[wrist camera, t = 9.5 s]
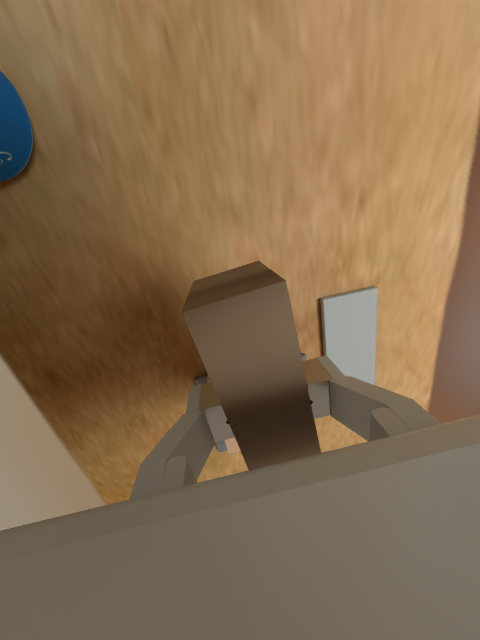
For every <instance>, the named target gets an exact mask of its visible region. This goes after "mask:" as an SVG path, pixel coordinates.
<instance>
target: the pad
mask: <svg viewBox="0 0 480 640" xmlns="http://www.w3.org/2000/svg"><path fill="white" fill-rule="evenodd" d="M377 297H378V288H377V287H374V286H373V287H368V288H364V289H359V290H355V291H350V292H346V293H341V294H337V295H332V296H328V297H323V298H320V302H321V317H322V333H323V349H324V355H326V356H328V357H329V358H330V360H331V361H332V362H333V363H334V364H335V365H336V366H337V367H338V368H339V370H340V371H341V372H342V373H343V374H344V375H345V376H351V377H354V378H356V379H359V380H362V381H364V382H367V383H370V384H373V385H374V378H375V351H376V324H377Z"/></svg>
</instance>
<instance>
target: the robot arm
mask: <svg viewBox="0 0 480 640" xmlns="http://www.w3.org/2000/svg"><path fill="white" fill-rule="evenodd" d="M302 363H303V368H304V373H305V377H306V382H307V387H308V392H309V397H310V402H311V407H312V412H313V417H314V418H319V417H323V416H328V415H331V416H332V417H333V418H335V419H336V420H338V421H339V422H341V423H342V424H344V425H345V426H346V427H348V428H349V429H351V430H352V431H354V432H355V433H357V434H358V435H360V436H361V437H363V438H364V439H366V440H367V441H369V442H365V443H361V444H356V445H352V446H348V447H344V448H340V449H336V450H332V451H328V452H323V453H319V454H315V455H311V456H307V457H303V458H299V459H295V460H290V461H286V462H282V463H278V464H274V465H270V466H266V467H262V468H257V469H253V470H249V471H245V472H241V473H237V474H233V475H229V476H224V477H220V478H216V479H212V480H208V481H204V482H200V483H198V482H197V479H198V477H199V475H200V473H201V471H202V469H203V467H204V464H205V462H206V460H207V458H208V456H209V454H210V452H211V450H212V448H213V446H214V444H215V442H219V441H223V440H226V439H230V438H234V434H233V432H232V429H231V427H230V425H229V422H228V420H227V418H226V415H225V413H224V411H223V408H222V406H221V404H220V401H219V399H218V397H217V395H216V392H215V390H214V388H213V385H212V383H211V382H209V383H204V384H200V385H195V386H191V388H190V391H189V397H188V404H187V410H186V414H184V415H182V416H181V417H180V418H179V420H178V421H177V422H176V423H175V424H174V425H173V427H172V428H171V429H170V430H169V431H168V432H167V434H166V435H165V436H164V437H163V438H162V439H161V441H160V442H159V443H158V444H157V445H156V446H155V448H154V449H153V450H152V451H151V452H150V454H149V455H148V456H147V457H146V458H145V459H144V461H143V462H142V463H141V464H140V468H139V471H138V474H137V477H136V480H135V483H134V487H133V490H132V493H131V496H130V499H129V500H125V501H121V502H117V503H113V504H109V505H105V506H101V507H97V508H93V509H88V510H84V511H80V512H76V513H72V514H68V515H64V516H60V517H55V518H51V519H47V520H43V521H39V522H35V523H31V524H27V525H22V526H18V527H14V528H10V529H6V530H2V531H0V640H480V415H476V416H472V417H468V418H464V419H460V420H456V421H451V422H447V423H443V424H440V423H439V422H438V421H437V420H436V419H434V418H433V417H432V416H431V415H430V414H429V413H428V412H427V411H425V410H424V409H423V408H422V407H421V406H420V405H418V404H417V403H416V402H415V401H414V400H413V399H410V398H408V397H405V396H402V395H399V394H397V393H394V392H391V391H389V390H386V389H383V388H381V387H378V386H375V385H373V384H370V383H367V382H364V381H362V380H359V379H356V378H354V377H351V376H345V375H344V374H343V373H342V372H341V371H340V370H339V368H338V367H337V366H336V365H335V364H334V363H333V362H332V361H331V360H330V358H329V357H328V356H326V355H324V356H320V357H317V358H314V359H310V360H306V361H302Z"/></svg>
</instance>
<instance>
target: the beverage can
mask: <svg viewBox="0 0 480 640" xmlns="http://www.w3.org/2000/svg"><path fill="white" fill-rule="evenodd" d="M32 146H33V133H32V126H31V122H30V118H29V115H28V113H27V110H26V108H25V105H24V103H23V101H22V99H21V98H20V96H19V94H18V92H17V91H16V89H15V88H14V87H13V85H12V84H11V82H10V81H9V80H8V79H7V78H6V76H5V75H4V74H3V73H2V72H1V71H0V181H4V180H8V179H10V178H12V177H14V176H16V175H17V174H19V173H20V172H21V171H22V170H23V169H24V168H25V166H26V165H27V163H28V161H29V159H30V156H31V152H32Z"/></svg>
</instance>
